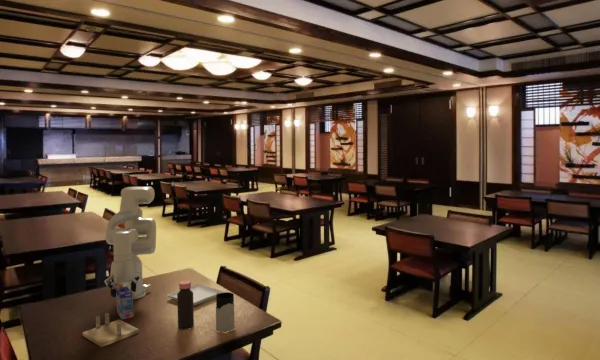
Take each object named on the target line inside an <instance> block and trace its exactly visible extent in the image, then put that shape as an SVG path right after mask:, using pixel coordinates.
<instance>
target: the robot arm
mask: <svg viewBox="0 0 600 360" xmlns="http://www.w3.org/2000/svg"><path fill="white" fill-rule="evenodd" d="M120 197H121V200H120V205H119V206H120V207H119V211H117V213H115V214H114V215H112V217H111V218H110V219H109V220H108V222H107V225H106V230H105V241H106V244H108V245H112V246H113V261H112V262H111V266H110V273H109V274H110V276H109V277H107V278H106V279H105V280H104V283H105V285H106V287H108V288H109V289H110V296H111V298H114V299H115V298H116V287H117V286H118V285H120V284H122V285H123V286H122V287H126V286H127V287H128V288H129V290H131V291H132V300H139V299H141V298H144V297H145V296H146V295H147V291H146V290H147V289H151V288H152V285H151V284H143V283H144V282H143V279H144V278H143V262H142V260H141V258H140V257H139V256H140V255H141V256H143V255H151V254H154V253H155V251H156V246H157V223H156V221H155V220H156V219H154V218H152V217H145V218H144V217H143V215H144V214H143V210H142V208H141V207H140V206H139V205H143V204H144V205H145V204H146V205H148V204H151V202H153V201H154V199H155V189H154V187H152V186H127V187H124V188H122V189H121V191H120ZM123 223H124V227H123V228H117V227H118V226H119V225H121V224H123Z"/></svg>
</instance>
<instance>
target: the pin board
mask: <svg viewBox="0 0 600 360" xmlns="http://www.w3.org/2000/svg"><path fill="white" fill-rule="evenodd" d="M139 333H140V330H139V328H137V327H135V326H133V325H131V324H130V323H127V322H126V321H123V320H122V319H117V320H114V321H111V322H110V313H109V312H105V313H104V324H103V325H101V316H100V315H96V316H95V327H93V328H91V329H88V330H85V331H82V336H83V337H84V338H86V339H88V340H89V341H91V342H92V343H94V344H95V345H97V346H99V347H100V348H103V347H106V346H108V345H111V344H113V343H116V342H118V341H121V340H125V339H126V338H128V337H129V338H130V337H131V336H134V335H136V334H139Z"/></svg>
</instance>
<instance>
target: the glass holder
mask: <svg viewBox="0 0 600 360" xmlns="http://www.w3.org/2000/svg"><path fill="white" fill-rule="evenodd" d="M234 296H235V295H234V293H232V292H225V291H223V293H217V294H216V298H215V301H216V302H215V328H216V330H217V331H220V332H227V331H231V330H233V329H234V328H236V326H235V304H234V303H235V302H234V301H235V299H234V298H235V297H234Z"/></svg>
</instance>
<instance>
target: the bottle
mask: <svg viewBox="0 0 600 360" xmlns="http://www.w3.org/2000/svg"><path fill="white" fill-rule="evenodd" d="M178 286H179V287H178V288H179V289H178V290H180V291H179V292H178V294H177V300H176V301H177V328H178V329H180V330H184V329H185V330H189V328H190V329H192V328H193V327H194V325H195V322H194V321H195V320H194V319H195V318H194V317H195V315H194V313H195V312H194V305H193V292H192V291H191V290H190V288H191V286H192V282H191V281H190V280H182V281H180V282H178Z"/></svg>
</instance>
